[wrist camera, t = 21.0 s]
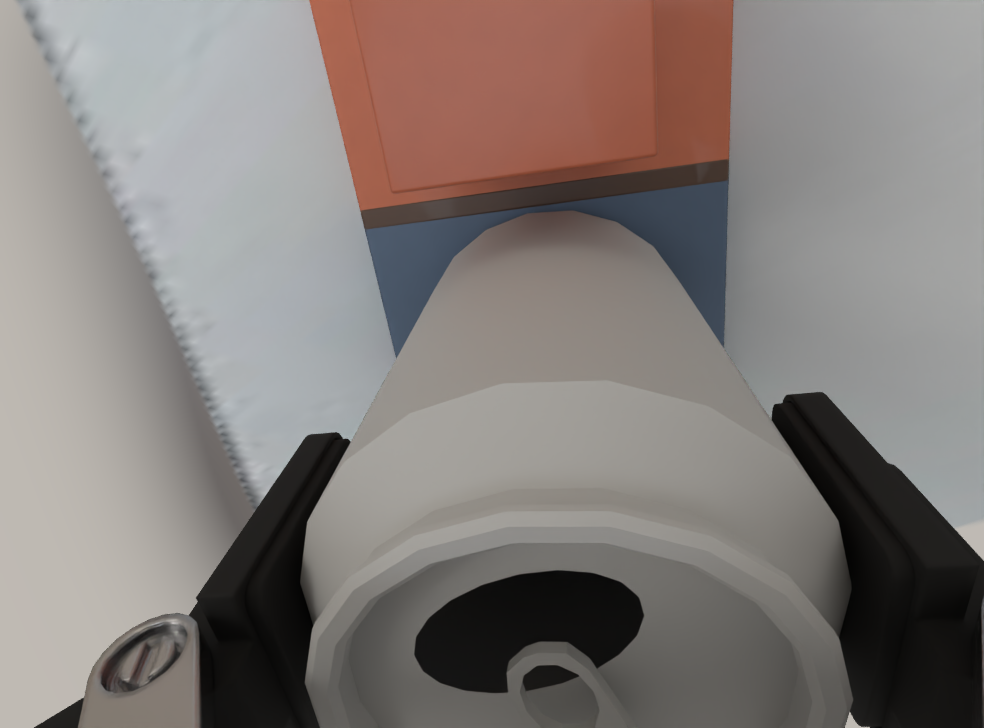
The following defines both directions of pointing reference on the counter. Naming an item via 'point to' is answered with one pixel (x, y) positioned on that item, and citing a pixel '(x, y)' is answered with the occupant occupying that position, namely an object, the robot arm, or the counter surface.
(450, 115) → the terracotta block
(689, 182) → the sorting board
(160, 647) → the robot arm
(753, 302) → the counter surface
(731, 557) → the can
